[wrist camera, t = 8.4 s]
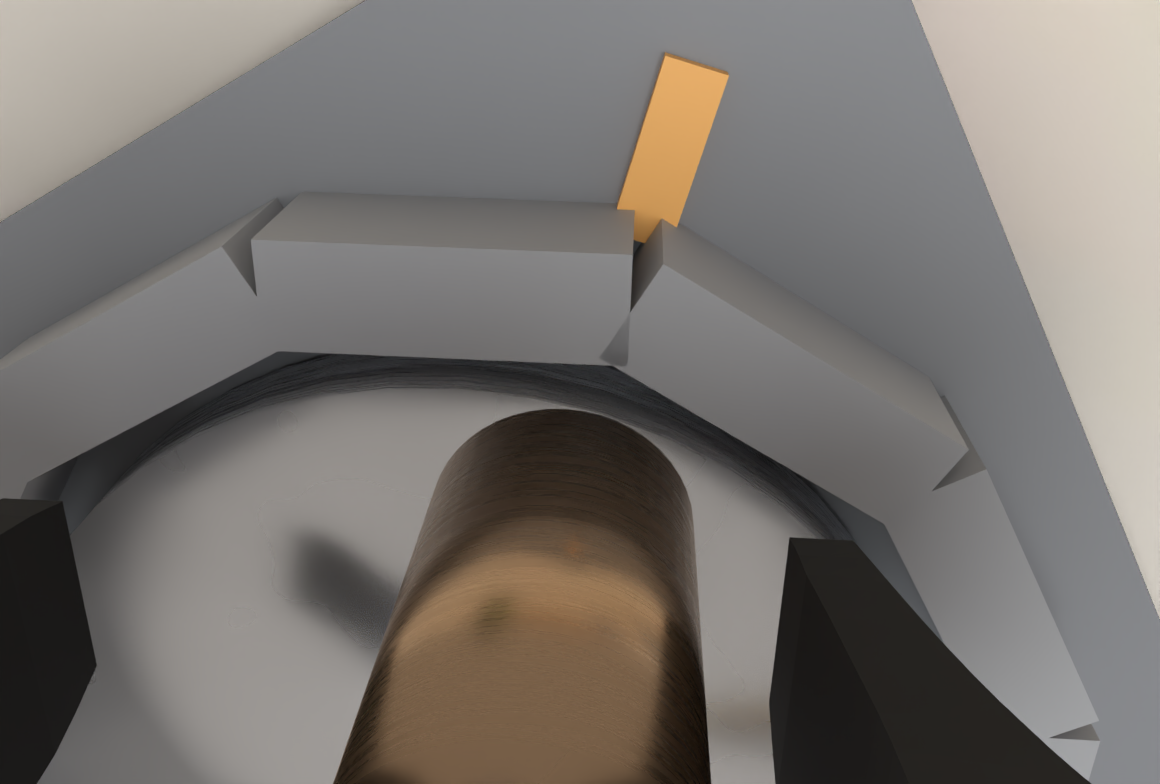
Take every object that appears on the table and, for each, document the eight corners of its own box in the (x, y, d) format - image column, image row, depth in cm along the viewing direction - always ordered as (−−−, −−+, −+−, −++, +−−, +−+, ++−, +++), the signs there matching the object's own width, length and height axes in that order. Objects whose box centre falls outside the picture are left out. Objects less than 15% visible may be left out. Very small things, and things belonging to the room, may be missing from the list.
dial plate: (340, 1122, 23) (293, 1311, 20) (-339, 430, 16) (-560, 556, 13) (1238, 854, 18) (1354, 1048, 15) (786, -252, 12) (833, -291, 9)
